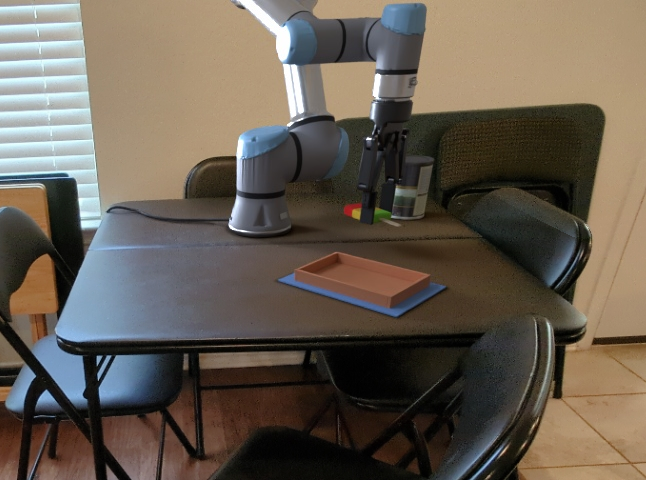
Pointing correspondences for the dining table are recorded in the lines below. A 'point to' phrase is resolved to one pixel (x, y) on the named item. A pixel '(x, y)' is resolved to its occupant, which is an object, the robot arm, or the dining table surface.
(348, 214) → the popsicle
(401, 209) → the coffee can
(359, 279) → the tray
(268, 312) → the dining table surface
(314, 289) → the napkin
